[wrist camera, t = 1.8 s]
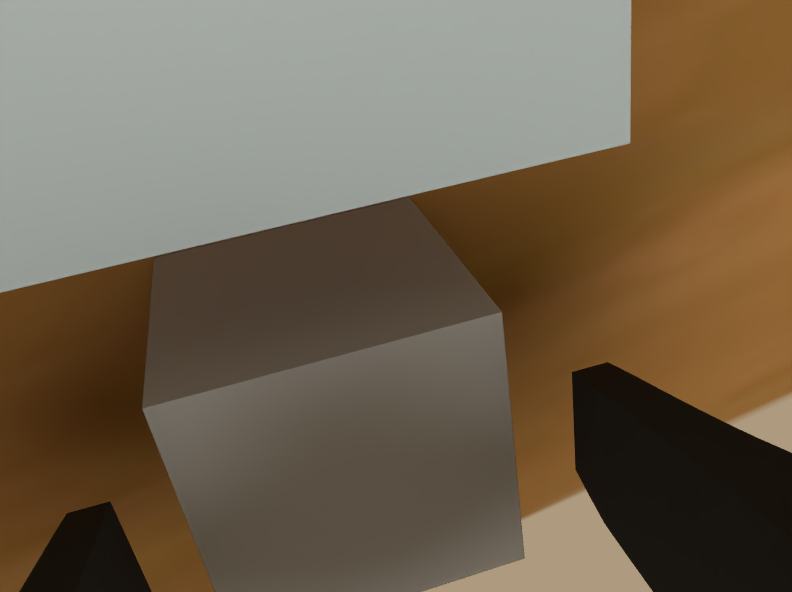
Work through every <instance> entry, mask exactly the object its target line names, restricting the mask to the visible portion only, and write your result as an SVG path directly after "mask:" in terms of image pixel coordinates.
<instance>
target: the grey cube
mask: <svg viewBox="0 0 792 592" xmlns="http://www.w3.org/2000/svg"><path fill="white" fill-rule="evenodd" d="M142 409H143V412H144V415H145V417H146V420H147V422H148V425H149V427H150V430H151V432H152V435H153V437H154V440H155V442H156V445H157V447H158V450H159V452H160V455H161V457H162V460H163V462H164V465H165V467H166V470H167V472H168V475H169V477H170V480H171V482H172V485H173V487H174V490H175V492H176V495H177V497H178V500H179V503H180V505H181V508H182V510H183V513H184V515H185V518H186V520H187V523H188V525H189V528H190V530H191V533H192V535H193V538H194V540H195V543H196V545H197V548H198V550H199V553H200V555H201V558H202V560H203V563H204V565H205V568H206V570H207V573H208V575H209V578H210V580H211V583H212V585H213V588H214V591H215V592H422V591H425V590H428V589H431V588H434V587H437V586H440V585H443V584H447V583H449V582H453V581H456V580H459V579H462V578H465V577H468V576H471V575H474V574H477V573H480V572H483V571H487V570H490V569H493V568H496V567H499V566H502V565H505V564H508V563H511V562H514V561H517V560H521V559H524V558H525V557H524V547H523V535H522V525H521V514H520V503H519V492H518V481H517V470H516V459H515V448H514V438H513V427H512V416H511V405H510V394H509V383H508V372H507V362H506V351H505V340H504V329H503V318H502V311H501V310H500V309H499V308H498V306H497V305H496V304H495V303H494V302H493V300H492V299H491V298H490V297H489V295H488V294H487V293H486V292H485V290H484V289H483V288H482V287H481V285H480V284H479V283H478V282H477V280H476V279H475V278H474V277H473V276H472V274H471V273H470V272H469V271H468V269H467V268H466V267H465V266H464V264H463V263H462V262H461V261H460V259H459V258H458V257H457V256H456V254H455V253H454V252H453V251H452V250H451V248H450V247H449V246H448V245H447V243H446V242H445V241H444V240H443V238H442V237H441V236H440V235H439V233H438V232H437V231H436V230H435V228H434V227H433V226H432V225H431V224H430V222H429V221H428V220H427V219H426V217H425V216H424V215H423V214H422V212H421V211H420V210H419V209H418V207H417V206H416V205H415V204H414V202H413V201H412V200H411V199H410V198H409V197H407V198H403V199H399V200H394V201H390V202H386V203H382V204H378V205H373V206H369V207H365V208H361V209H357V210H352V211H348V212H344V213H340V214H336V215H331V216H327V217H323V218H319V219H315V220H311V221H306V222H302V223H298V224H294V225H290V226H285V227H281V228H277V229H273V230H269V231H264V232H260V233H256V234H252V235H248V236H243V237H239V238H235V239H231V240H227V241H223V242H218V243H214V244H210V245H206V246H202V247H197V248H193V249H189V250H185V251H181V252H176V253H172V254H168V255H164V256H160V257H155V258H154V263H153V276H152V288H151V301H150V314H149V327H148V340H147V353H146V366H145V379H144V392H143V405H142Z"/></svg>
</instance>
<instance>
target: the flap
mask: <svg viewBox="0 0 792 592" xmlns="http://www.w3.org/2000/svg"><path fill="white" fill-rule="evenodd" d="M630 99H631V0H0V293H1V292H5V291H9V290H13V289H18V288H22V287H26V286H30V285H35V284H39V283H43V282H47V281H51V280H56V279H60V278H64V277H68V276H72V275H77V274H81V273H85V272H89V271H94V270H98V269H102V268H106V267H110V266H115V265H119V264H123V263H127V262H131V261H136V260H140V259H144V258H148V257H153V256H157V255H161V254H165V253H169V252H174V251H178V250H182V249H186V248H191V247H195V246H199V245H203V244H207V243H212V242H216V241H220V240H224V239H228V238H233V237H237V236H241V235H245V234H250V233H254V232H258V231H262V230H266V229H271V228H275V227H279V226H283V225H287V224H292V223H296V222H300V221H304V220H309V219H313V218H317V217H321V216H325V215H330V214H334V213H338V212H342V211H347V210H351V209H355V208H359V207H363V206H368V205H372V204H376V203H380V202H384V201H389V200H393V199H397V198H401V197H406V196H410V195H414V194H418V193H422V192H427V191H431V190H435V189H439V188H444V187H448V186H452V185H456V184H460V183H465V182H469V181H473V180H477V179H481V178H486V177H490V176H494V175H498V174H503V173H507V172H511V171H515V170H519V169H524V168H528V167H532V166H536V165H540V164H545V163H549V162H553V161H557V160H562V159H566V158H570V157H574V156H578V155H583V154H587V153H591V152H595V151H600V150H604V149H608V148H612V147H616V146H621V145H625V144H629V143H630Z"/></svg>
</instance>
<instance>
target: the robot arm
mask: <svg viewBox="0 0 792 592" xmlns="http://www.w3.org/2000/svg"><path fill="white" fill-rule="evenodd" d="M572 385H573V411H574V438H575V465H576V471H577V473H578V475H579V477H580V479H581V481H582V483H583V484H584V486H585V488H586V490H587V492H588V494H589V496H590V498H591V500H592V501H593V503H594V505H595V507H596V509H597V510H598V512H599V514H600V516H601V518H602V519H603V521H604V523H605V524H606V526H607V527H608V529H609V530H610V532H611V533H612V535H613V536H614V537H615V539H616V540H617V542H618V543H619V544H620V546H621V547H622V549H623V550H624V552H625V553H626V554H627V556H628V557H629V559H630V560H631V562H632V563H633V564H634V566H635V567H636V569H637V570H638V571H639V573H640V574H641V575H642V577H643V578H644V580H645V581H646V582H647V584H648V585H649V587H650V588H651V589H652V591H653V592H792V453H791V452H788V451H786V450H784V449H781V448H779V447H777V446H775V445H772V444H770V443H768V442H765V441H763V440H761V439H758V438H756V437H754V436H752V435H750V434H748V433H746V432H744V431H742V430H739V429H737V428H735V427H733V426H731V425H729V424H727V423H725V422H723V421H721V420H719V419H717V418H715V417H713V416H711V415H709V414H707V413H705V412H703V411H701V410H699V409H697V408H695V407H693V406H691V405H689V404H687V403H685V402H683V401H681V400H679V399H677V398H676V397H674V396H672V395H670V394H668V393H666V392H664V391H662V390H660V389H658V388H657V387H655V386H653V385H651V384H649V383H647V382H645V381H643V380H641V379H639V378H638V377H636V376H634V375H632V374H630V373H628V372H626V371H624V370H622V369H620V368H618V367H616V366H614V365H612V364H610V363H608V362H607V363H603V364H600V365H596V366H593V367H589V368H586V369H582V370H578V371H575V372H572ZM20 592H151V590H150V587H149V585H148V583H147V581H146V579H145V576H144V574H143V572H142V570H141V568H140V566H139V563H138V561H137V559H136V557H135V555H134V552H133V550H132V548H131V546H130V544H129V542H128V539H127V537H126V535H125V533H124V531H123V529H122V526H121V524H120V522H119V520H118V518H117V515H116V513H115V511H114V509H113V507H112V505H111V502H106V503H103V504H99V505H96V506H92V507H88V508H85V509H81V510H78V511H74V512H70V513H67V514H66V516H65V517H64V519H63V521H62V522H61V524H60V525H59V527H58V529H57V530H56V532H55V533H54V535H53V537H52V538H51V540H50V542H49V543H48V545H47V547H46V548H45V550H44V552H43V553H42V555H41V557H40V558H39V560H38V562H37V563H36V565H35V567H34V568H33V570H32V572H31V573H30V575H29V577H28V578H27V580H26V582H25V583H24V585H23V587H22V588H21V590H20Z"/></svg>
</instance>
